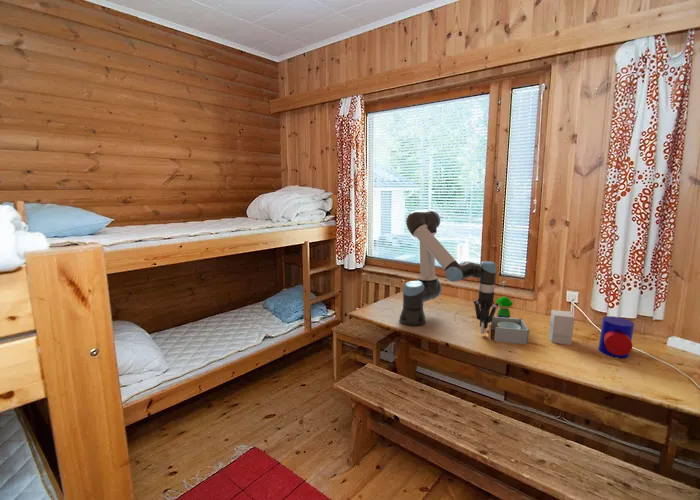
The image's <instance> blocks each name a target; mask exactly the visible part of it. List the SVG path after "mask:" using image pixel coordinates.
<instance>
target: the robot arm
mask: <svg viewBox="0 0 700 500" xmlns="http://www.w3.org/2000/svg"><path fill="white" fill-rule="evenodd" d="M405 223H406V228H407V230H408V232H409V233H410V234H411V236H412V237H414V238H417V240H418V241H419V260H420V261H419V266H420V270H419V273H420V275H419V276H418V277H417V280H410V281H407V282H405V283H404V285H403V289H402V293H403V294H402V298H403V299H402V310H401V313H400V315H399V322H400V323H401V324H402V325H405V326H409V327H420V326H423V325H425V324H426V323H427V322H426V321H427V319H426V315H425V312H424V303H425V302H427V301H430V300H435V299H436V298H438V297H439V296H440V295H441V293H442V288H443V287H442V284H441V282H440V280H439V279H438V276H437V275H436V265H435V264H436V262H437V263H438V264H439V265H440V266H441V267H442V269H443V270H444V271H445V277H446V279H447V280H448V281H449V282H453V283H454V282H459V281H462V280H464V279H468V278H476V279H479V285H478V289H479V291H478V298H477V300H474V301H473V305H474V309H475V313H476V314H475V315H476V320H479V327H480V334H481V335H484V334H486V333H487V328H489V323H490V322H492V319H493V317H495V313H496V311H497V310H498V308H499V306H496V305H495V302H494V298H495V288H496V287H495V286H496V277H497V263H496V262H494V261H491V260H490V261H488V260H483V261H481V263H476V262H472V261H468V260H467V261H465V260H462V261H461V262H460V263H459V262H458V261H457V260H456V259H455V258H454V257H453V255H451V253H449V251H448V250H447V249H446V247H444V246H443V245H442V243H441V242H440V241H439V240H438V239H437V238H436V236H435V235H436V234H437V232H438V230H437V228H439V226H440V224H441V216H440V214H439V213H437V211H436V210H434V209H422V210H414V211H411V212H410V213H409V214H408V215H407V217H406V220H405ZM435 261H436V262H435ZM490 309H491V310H490Z"/></svg>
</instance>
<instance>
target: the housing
mask: <svg viewBox="0 0 700 500" xmlns="http://www.w3.org/2000/svg"><path fill="white" fill-rule="evenodd" d="M499 322H512V323H515V324H518V325H519V326H520V327H521V329H512V328H501V327H498V326H497V324H498V323H499ZM491 331H494V340H493V341H494V342H500V343H509V344H520V345H528V343H529V336H530V335H529V334H530V330H529V328H528V327H527V325H526V323H525V321H524V320H523V319H522V318H514V317H509V318H504V317H498V316H493V319H492V322H491Z"/></svg>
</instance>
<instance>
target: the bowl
mask: <svg viewBox="0 0 700 500" xmlns="http://www.w3.org/2000/svg"><path fill="white" fill-rule="evenodd" d="M497 326H498V327H501V328H512V329H521V327H520V326H519V325H518V324H515V323H512V322H499V323H498V324H497Z"/></svg>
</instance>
